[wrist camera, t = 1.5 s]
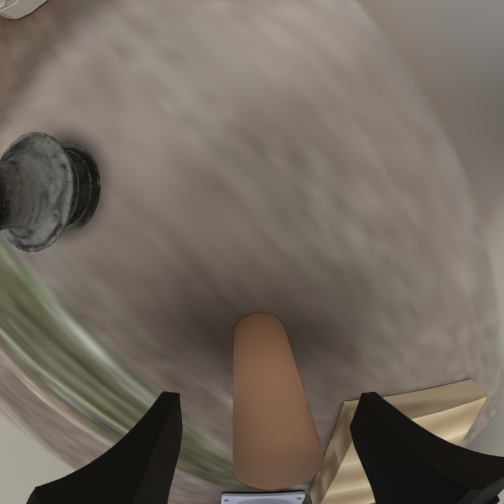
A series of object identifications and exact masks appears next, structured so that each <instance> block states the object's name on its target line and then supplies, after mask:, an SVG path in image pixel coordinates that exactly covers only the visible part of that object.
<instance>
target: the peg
mask: <svg viewBox="0 0 504 504" xmlns="http://www.w3.org/2000/svg"><path fill="white" fill-rule="evenodd" d="M324 462H325V457H324V454H323V450H322V447H321V444H320V440H319V437H318V434H317V431H316V427H315V424H314V421H313V418H312V414H311V411H310V408H309V405H308V402H307V398H306V395H305V392H304V389H303V385H302V382H301V379H300V376H299V373H298V369H297V366H296V363H295V360H294V357H293V354H292V350H291V347H290V344H289V341H288V338H287V334H286V331H285V328H284V326H283V324H282V322H281V321H280V320H279V319H278V318H277V317H275V316H273V315H271V314H268V313H253V314H250V315H248V316H246V317H244V318H243V319H242V320H240V322H239V323H238V324H237V326H236V328H235V331H234V354H233V473H234V475H235V477H236V478H237V479H238V480H239V481H240V482H242V483H243V484H245V485H248V486H251V487H254V488H259V489H283V488H288V487H292V486H296V485H299V484H301V483H303V482H306V481H307V480H309V479H311V478H312V477H314V476H315V475H316V474H317V473H318V472H319V471H320V470H321V469H322V467H323V465H324Z"/></svg>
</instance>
